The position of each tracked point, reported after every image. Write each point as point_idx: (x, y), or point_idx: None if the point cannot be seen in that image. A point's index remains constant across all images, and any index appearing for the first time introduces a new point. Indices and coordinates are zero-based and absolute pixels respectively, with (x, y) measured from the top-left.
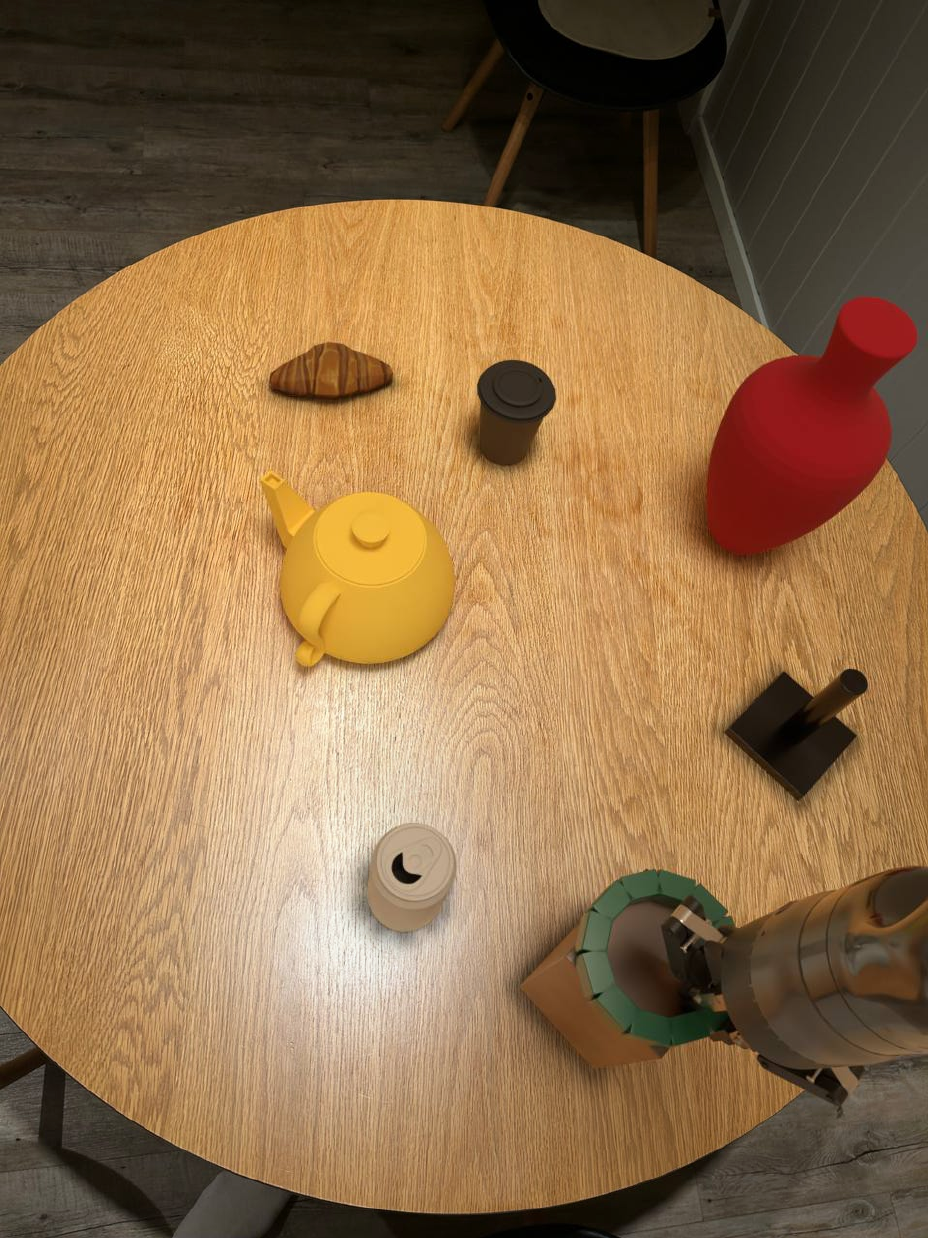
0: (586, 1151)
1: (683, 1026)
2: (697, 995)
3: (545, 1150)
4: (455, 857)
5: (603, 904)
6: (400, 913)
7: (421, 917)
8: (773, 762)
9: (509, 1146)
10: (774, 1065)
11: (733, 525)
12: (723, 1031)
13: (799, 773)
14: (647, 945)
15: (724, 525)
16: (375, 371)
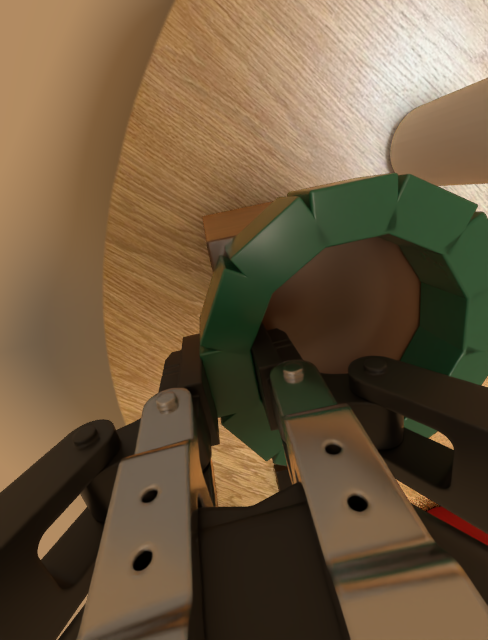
0: (147, 167)
1: (245, 309)
2: (309, 382)
3: (167, 131)
4: None
5: None
6: (484, 83)
7: (444, 117)
8: None
9: (187, 99)
10: (61, 482)
11: None
12: (198, 377)
13: (290, 478)
14: (354, 327)
15: (470, 535)
16: None
